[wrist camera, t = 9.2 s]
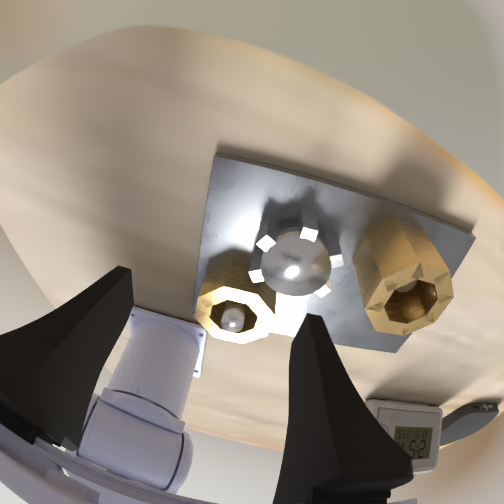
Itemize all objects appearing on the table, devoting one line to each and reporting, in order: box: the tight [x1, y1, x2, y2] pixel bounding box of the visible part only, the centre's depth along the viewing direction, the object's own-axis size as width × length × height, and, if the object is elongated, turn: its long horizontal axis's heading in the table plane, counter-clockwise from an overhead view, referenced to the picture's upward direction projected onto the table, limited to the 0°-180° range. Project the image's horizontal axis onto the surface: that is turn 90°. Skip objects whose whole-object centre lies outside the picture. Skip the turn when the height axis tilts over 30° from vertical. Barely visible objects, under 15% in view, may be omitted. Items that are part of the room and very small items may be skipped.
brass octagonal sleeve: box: [352, 218, 454, 336], centre depth 18 cm, size 6×6×5 cm
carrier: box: [192, 153, 476, 353], centre depth 21 cm, size 14×20×4 cm
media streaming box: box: [439, 403, 499, 446], centre depth 38 cm, size 15×15×3 cm
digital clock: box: [365, 399, 443, 475], centre depth 30 cm, size 16×9×11 cm, turn 58°
